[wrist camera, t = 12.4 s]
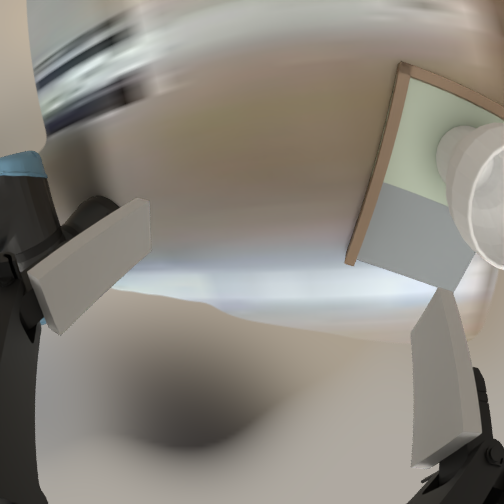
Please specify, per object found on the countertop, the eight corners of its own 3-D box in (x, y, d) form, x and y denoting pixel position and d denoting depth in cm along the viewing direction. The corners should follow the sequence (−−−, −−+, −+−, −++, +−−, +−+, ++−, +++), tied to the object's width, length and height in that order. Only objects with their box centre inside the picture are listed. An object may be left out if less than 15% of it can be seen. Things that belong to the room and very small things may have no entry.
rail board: (346, 251, 38) (344, 263, 35) (398, 64, 24) (401, 61, 22) (451, 287, 34) (455, 301, 32) (519, 120, 21) (530, 123, 18)
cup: (508, 199, 25) (567, 266, 13) (431, 211, 30) (461, 287, 18) (497, 108, 21) (572, 128, 9) (414, 118, 26) (449, 138, 14)
